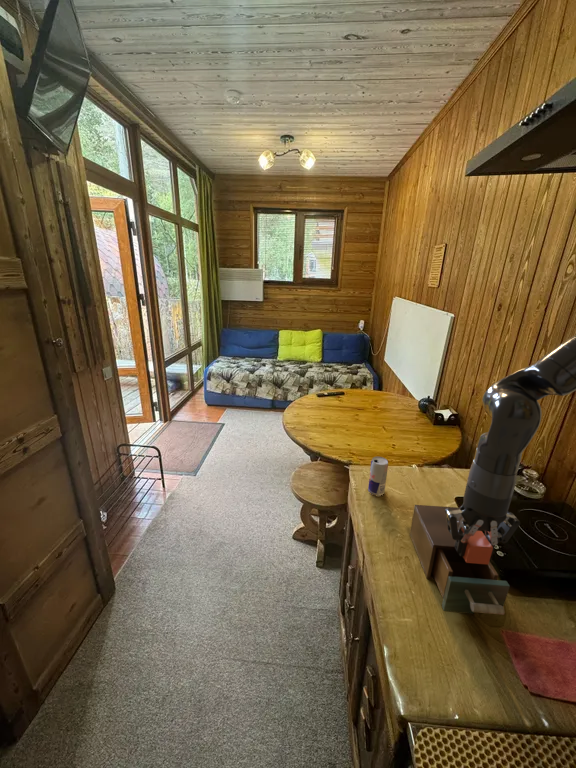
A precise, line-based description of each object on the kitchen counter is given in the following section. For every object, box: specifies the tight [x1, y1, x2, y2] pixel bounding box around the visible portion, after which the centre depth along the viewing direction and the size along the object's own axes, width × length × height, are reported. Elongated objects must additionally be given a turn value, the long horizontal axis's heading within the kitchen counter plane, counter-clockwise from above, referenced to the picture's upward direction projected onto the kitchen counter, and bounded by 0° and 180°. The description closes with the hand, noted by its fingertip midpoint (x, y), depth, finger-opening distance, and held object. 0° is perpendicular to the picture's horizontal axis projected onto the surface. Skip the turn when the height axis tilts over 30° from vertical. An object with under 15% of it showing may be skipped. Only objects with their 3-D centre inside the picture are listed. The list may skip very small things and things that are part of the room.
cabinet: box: [409, 504, 480, 580], centre depth 77 cm, size 14×13×10 cm
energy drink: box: [367, 456, 389, 497], centre depth 101 cm, size 5×5×12 cm
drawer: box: [432, 548, 510, 616], centre depth 67 cm, size 17×11×8 cm
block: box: [463, 530, 493, 564], centre depth 64 cm, size 4×4×4 cm
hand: (472, 553), depth 65 cm, fingers closed on block, 4 cm apart
